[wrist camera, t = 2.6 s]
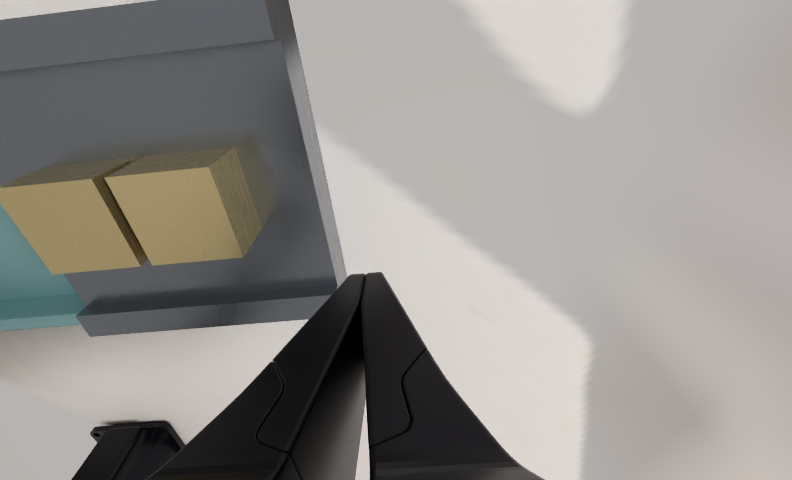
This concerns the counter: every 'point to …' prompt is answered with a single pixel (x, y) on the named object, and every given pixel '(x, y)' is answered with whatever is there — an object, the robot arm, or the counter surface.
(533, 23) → the counter surface
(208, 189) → the tan square block
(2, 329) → the tray
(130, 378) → the counter surface
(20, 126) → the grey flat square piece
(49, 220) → the chip
